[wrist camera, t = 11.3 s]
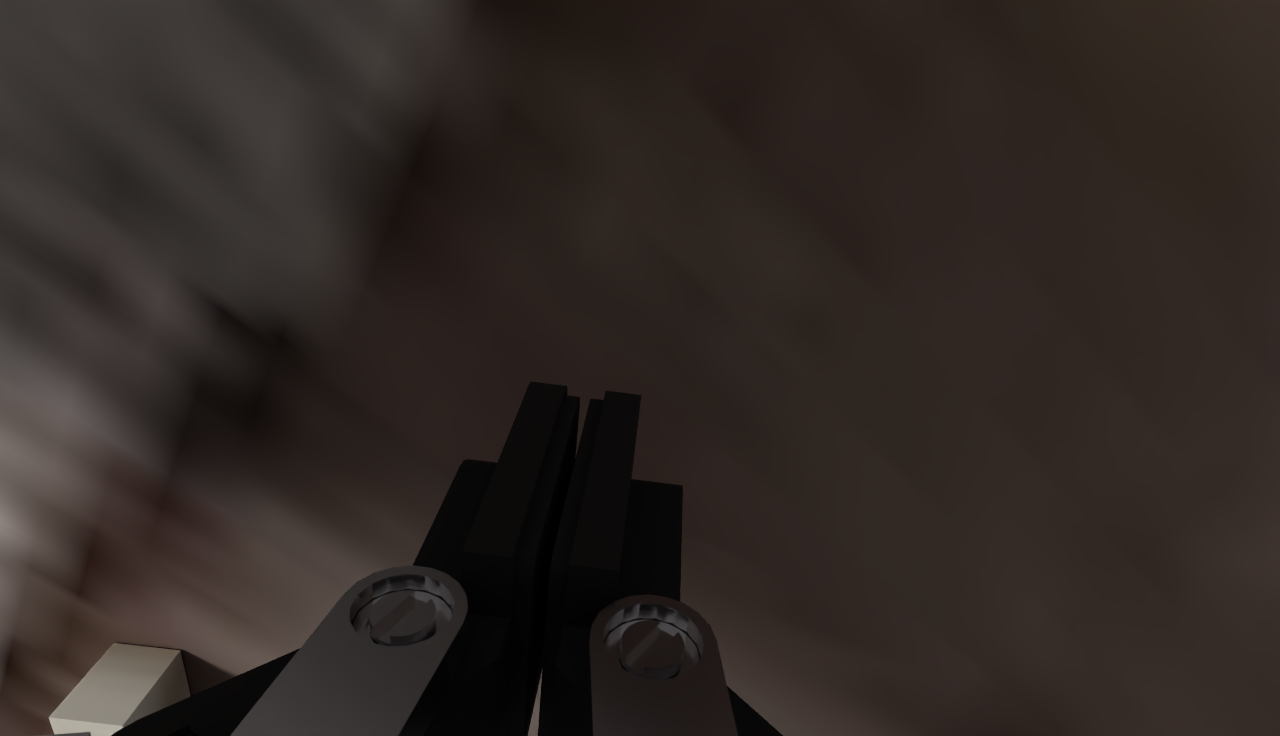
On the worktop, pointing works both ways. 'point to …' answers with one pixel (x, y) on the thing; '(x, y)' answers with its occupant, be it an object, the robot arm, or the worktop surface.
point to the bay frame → (122, 690)
